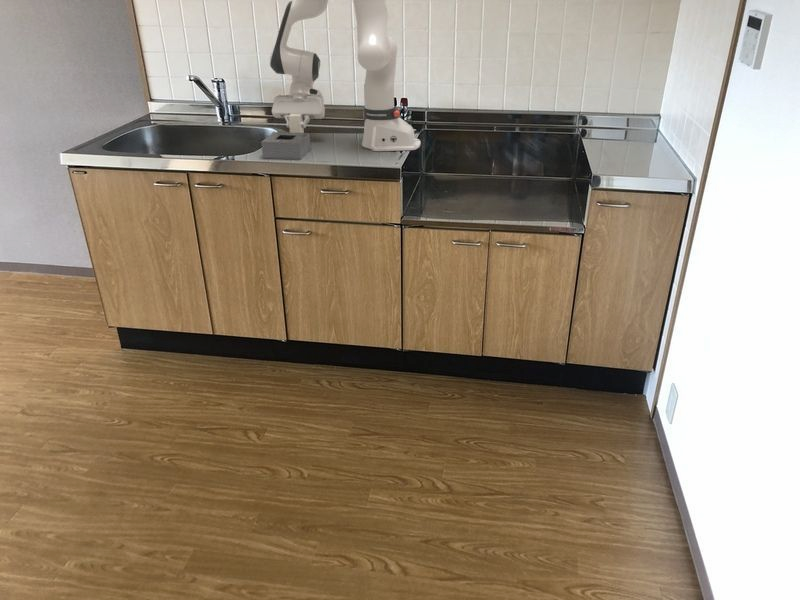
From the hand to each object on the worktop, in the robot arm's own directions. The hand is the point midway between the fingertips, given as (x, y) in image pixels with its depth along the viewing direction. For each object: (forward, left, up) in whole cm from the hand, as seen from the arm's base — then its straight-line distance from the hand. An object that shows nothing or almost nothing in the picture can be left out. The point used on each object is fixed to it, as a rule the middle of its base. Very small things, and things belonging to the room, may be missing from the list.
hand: (295, 126), depth 255 cm
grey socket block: (0, +13, -7) cm, 15 cm away
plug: (0, -1, -7) cm, 7 cm away
